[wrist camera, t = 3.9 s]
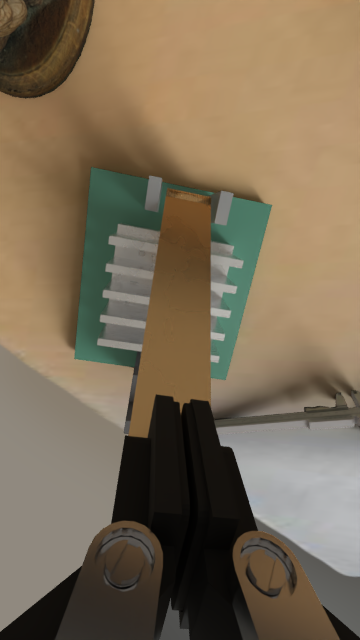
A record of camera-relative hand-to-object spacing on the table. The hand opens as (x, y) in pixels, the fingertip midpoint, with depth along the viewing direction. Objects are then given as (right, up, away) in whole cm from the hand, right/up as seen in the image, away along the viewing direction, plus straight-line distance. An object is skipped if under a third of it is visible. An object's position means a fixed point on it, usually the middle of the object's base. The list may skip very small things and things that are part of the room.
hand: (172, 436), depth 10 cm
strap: (0, +5, +7) cm, 9 cm away
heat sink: (-1, +7, +20) cm, 21 cm away
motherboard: (-1, +7, +21) cm, 22 cm away
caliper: (+11, -7, +27) cm, 30 cm away
